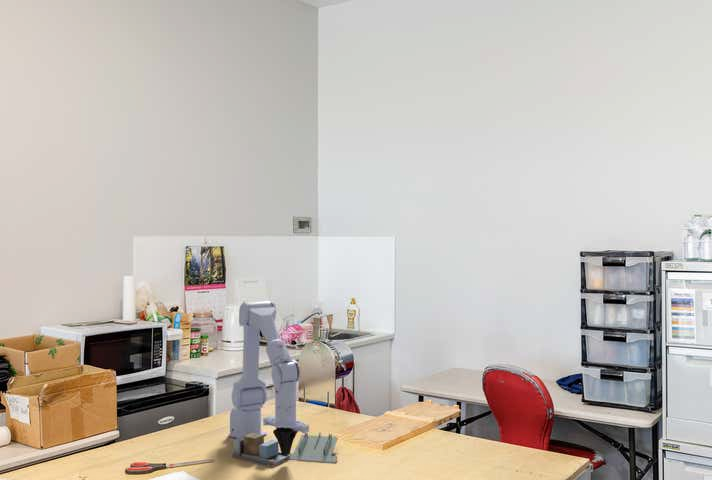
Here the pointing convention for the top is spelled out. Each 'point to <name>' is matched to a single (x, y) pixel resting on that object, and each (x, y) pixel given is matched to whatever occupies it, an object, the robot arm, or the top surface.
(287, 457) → the vise
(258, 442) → the block
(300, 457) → the metal bracket
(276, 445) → the block
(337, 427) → the top surface
